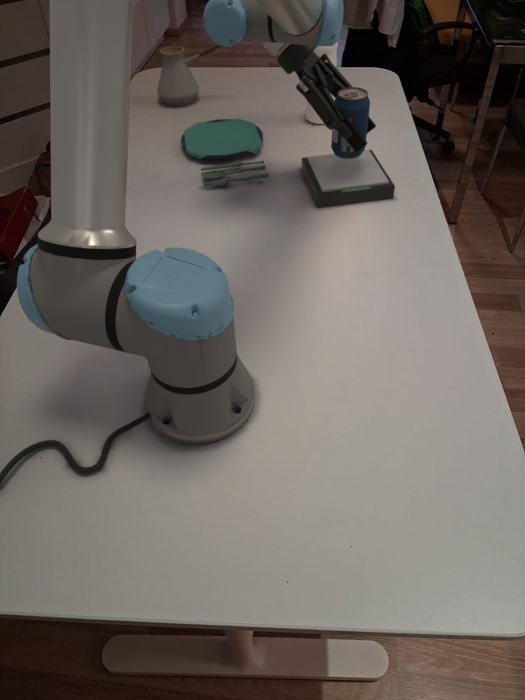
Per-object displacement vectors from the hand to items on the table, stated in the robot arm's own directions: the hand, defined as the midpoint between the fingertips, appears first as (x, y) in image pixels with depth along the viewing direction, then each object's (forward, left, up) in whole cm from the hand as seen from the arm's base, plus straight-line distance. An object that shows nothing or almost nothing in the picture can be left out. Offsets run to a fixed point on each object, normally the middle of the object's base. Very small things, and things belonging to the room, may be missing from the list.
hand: (366, 138), depth 108 cm
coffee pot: (-31, +54, -11) cm, 63 cm away
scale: (-3, +2, -10) cm, 11 cm away
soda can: (-3, +2, -4) cm, 5 cm away
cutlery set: (-27, +21, -11) cm, 36 cm away
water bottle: (-1, +34, -11) cm, 35 cm away
